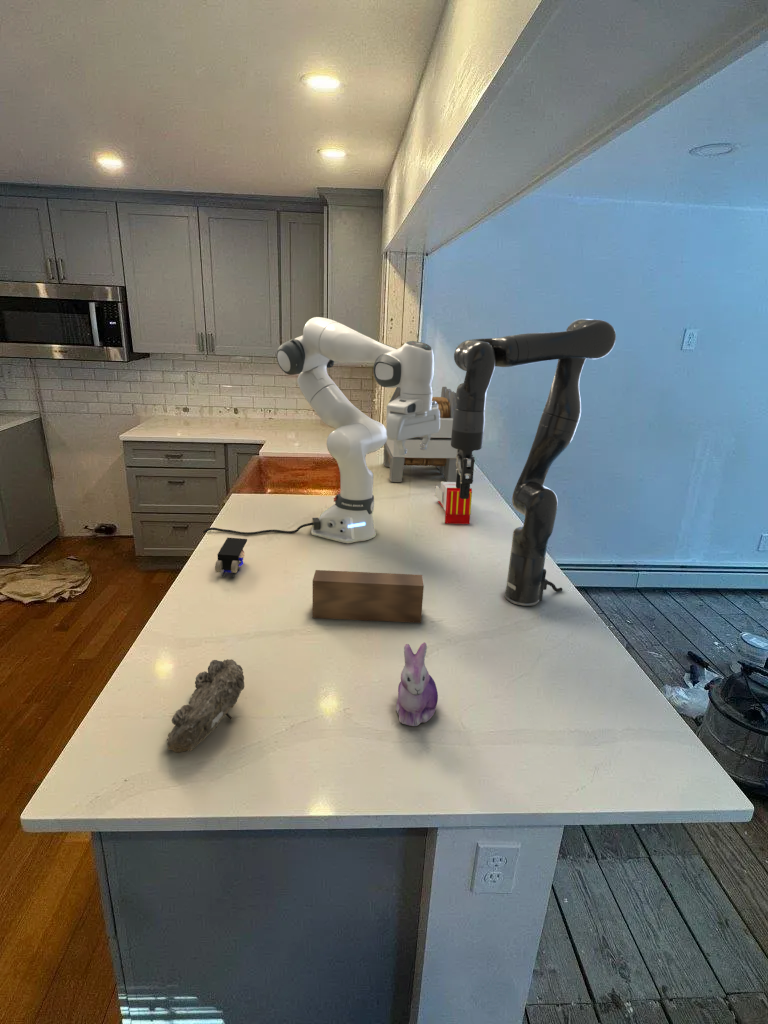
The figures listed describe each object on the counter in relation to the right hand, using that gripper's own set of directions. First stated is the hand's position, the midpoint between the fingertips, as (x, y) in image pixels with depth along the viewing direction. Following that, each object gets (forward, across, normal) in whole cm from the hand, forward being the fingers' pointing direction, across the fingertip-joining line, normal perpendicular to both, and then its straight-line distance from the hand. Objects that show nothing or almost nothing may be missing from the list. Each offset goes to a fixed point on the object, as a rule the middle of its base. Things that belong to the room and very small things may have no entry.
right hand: (462, 493), depth 140 cm
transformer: (+33, +132, +3) cm, 136 cm away
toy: (+33, +78, -8) cm, 84 cm away
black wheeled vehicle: (+32, +17, +63) cm, 73 cm away
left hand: (-4, +24, +12) cm, 27 cm away
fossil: (+32, -46, +50) cm, 75 cm away
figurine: (+32, -42, +11) cm, 54 cm away
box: (+32, -5, +22) cm, 40 cm away
